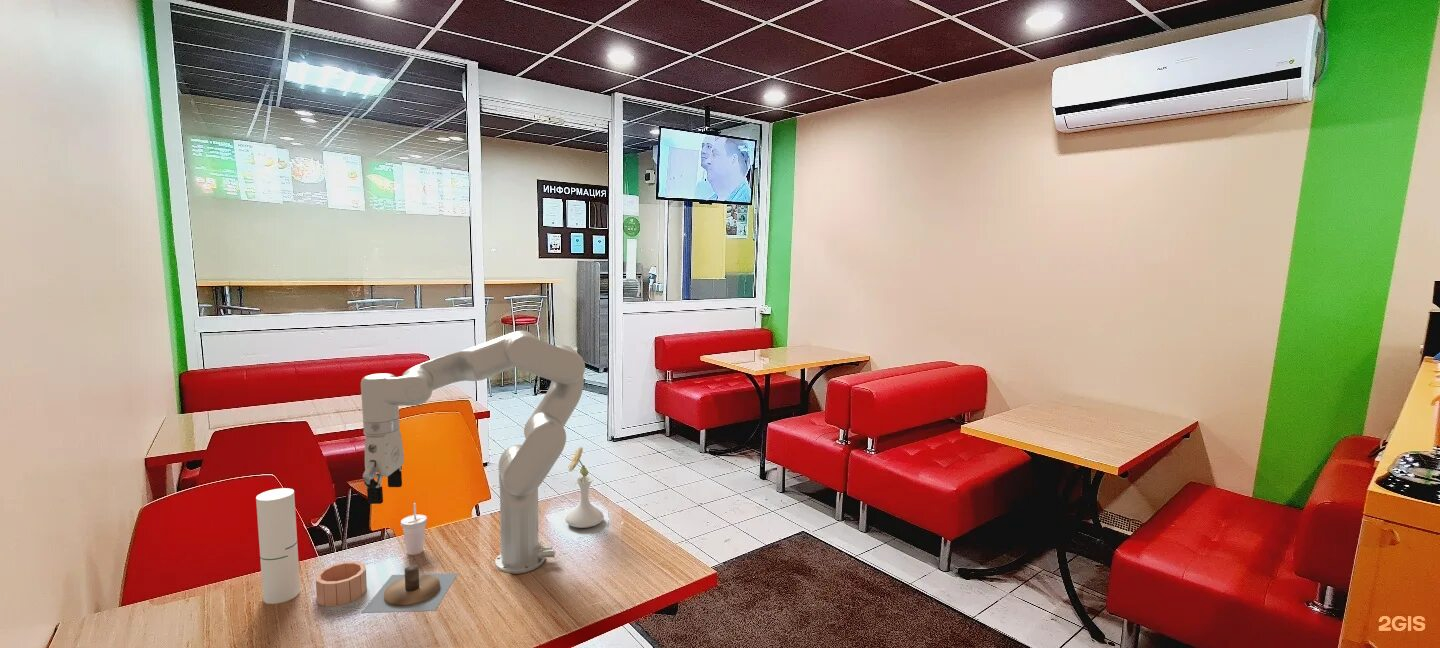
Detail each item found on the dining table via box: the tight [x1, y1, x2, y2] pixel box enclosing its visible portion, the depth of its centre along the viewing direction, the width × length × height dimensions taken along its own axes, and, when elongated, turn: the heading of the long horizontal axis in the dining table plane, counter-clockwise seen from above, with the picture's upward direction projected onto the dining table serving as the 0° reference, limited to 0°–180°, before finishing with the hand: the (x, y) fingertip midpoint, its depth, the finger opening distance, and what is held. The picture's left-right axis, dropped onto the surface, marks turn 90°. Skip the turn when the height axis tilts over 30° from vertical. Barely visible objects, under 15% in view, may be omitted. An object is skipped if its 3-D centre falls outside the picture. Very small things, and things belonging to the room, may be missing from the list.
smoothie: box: [400, 502, 428, 556], centre depth 165 cm, size 6×6×14 cm
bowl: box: [315, 560, 368, 607], centre depth 145 cm, size 10×10×6 cm
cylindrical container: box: [255, 487, 301, 605], centre depth 144 cm, size 7×7×25 cm
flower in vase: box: [565, 446, 605, 529], centre depth 185 cm, size 13×11×25 cm
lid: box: [384, 564, 440, 606], centre depth 147 cm, size 12×12×6 cm
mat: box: [361, 572, 459, 614], centre depth 147 cm, size 16×16×1 cm
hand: (385, 494), depth 148 cm, fingers open, 9 cm apart
